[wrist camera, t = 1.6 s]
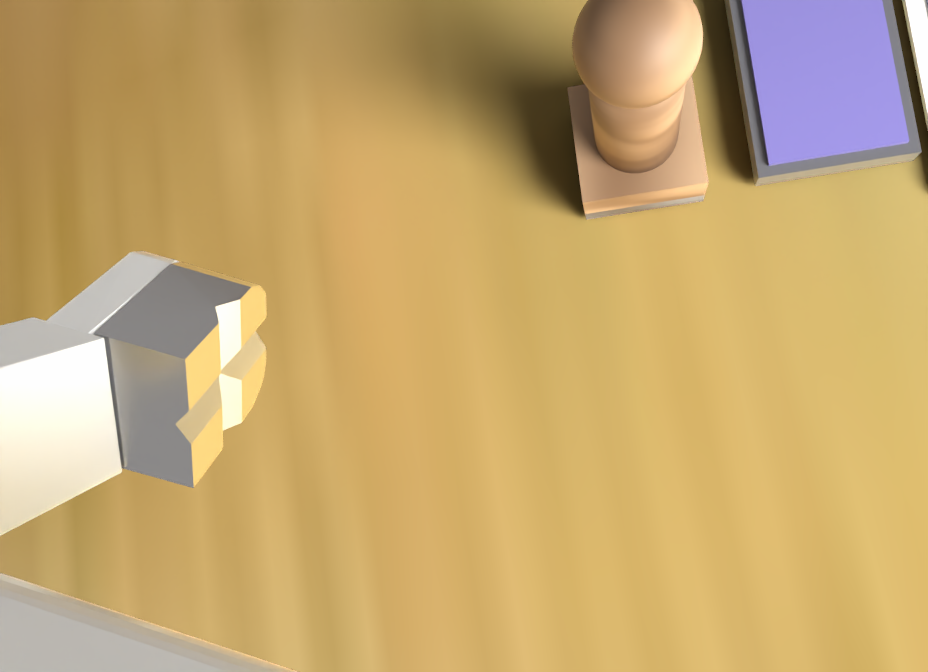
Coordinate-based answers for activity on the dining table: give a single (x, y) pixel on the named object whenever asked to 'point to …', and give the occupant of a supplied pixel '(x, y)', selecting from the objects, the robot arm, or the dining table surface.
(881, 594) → the dining table surface
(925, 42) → the print sheet
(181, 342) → the robot arm
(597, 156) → the stamp
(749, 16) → the ink pad
